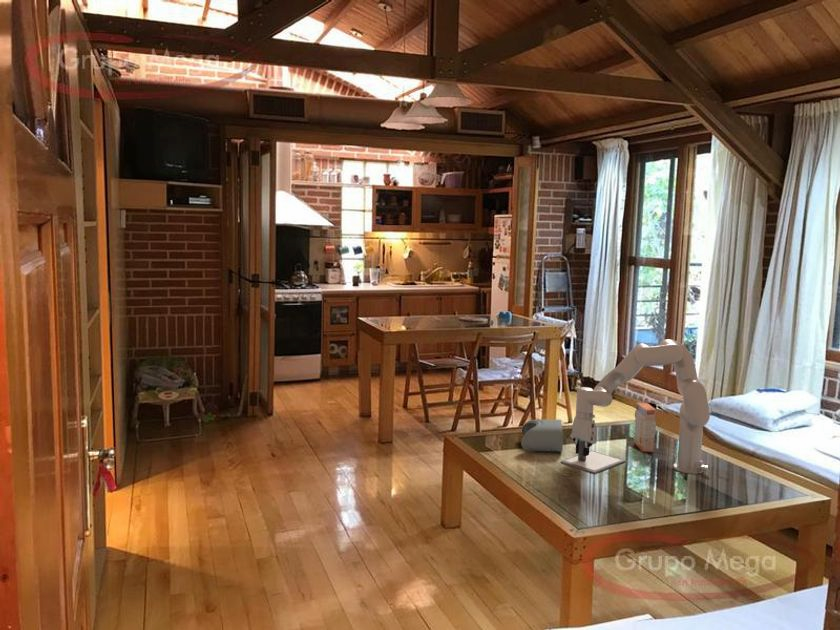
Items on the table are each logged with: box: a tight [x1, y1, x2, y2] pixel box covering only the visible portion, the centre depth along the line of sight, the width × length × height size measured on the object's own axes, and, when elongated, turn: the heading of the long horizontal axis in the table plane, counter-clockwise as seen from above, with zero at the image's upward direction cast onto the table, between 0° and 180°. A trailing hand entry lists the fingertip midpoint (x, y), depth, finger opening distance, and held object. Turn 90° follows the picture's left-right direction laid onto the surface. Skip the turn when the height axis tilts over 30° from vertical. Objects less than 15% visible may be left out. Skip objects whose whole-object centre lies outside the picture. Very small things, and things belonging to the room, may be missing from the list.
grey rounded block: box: [520, 419, 564, 452], centre depth 332 cm, size 22×19×13 cm
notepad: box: [560, 450, 626, 475], centre depth 314 cm, size 18×24×1 cm
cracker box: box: [633, 402, 658, 453], centre depth 335 cm, size 14×6×21 cm, turn 179°
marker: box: [577, 439, 586, 461], centre depth 312 cm, size 4×4×12 cm
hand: (582, 454), depth 312 cm, fingers closed on marker, 3 cm apart
